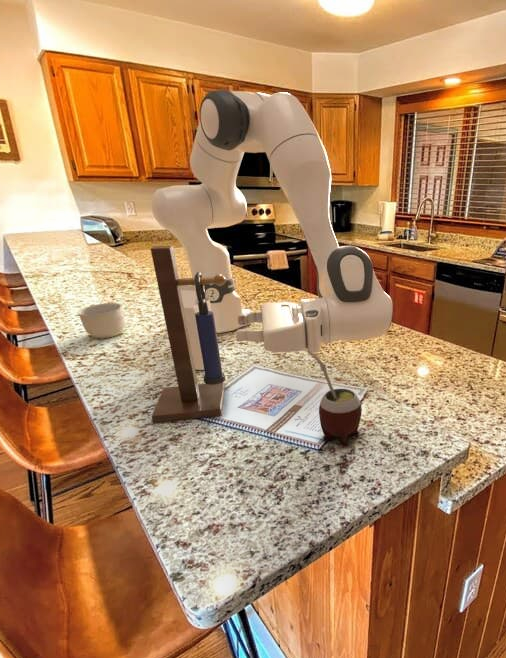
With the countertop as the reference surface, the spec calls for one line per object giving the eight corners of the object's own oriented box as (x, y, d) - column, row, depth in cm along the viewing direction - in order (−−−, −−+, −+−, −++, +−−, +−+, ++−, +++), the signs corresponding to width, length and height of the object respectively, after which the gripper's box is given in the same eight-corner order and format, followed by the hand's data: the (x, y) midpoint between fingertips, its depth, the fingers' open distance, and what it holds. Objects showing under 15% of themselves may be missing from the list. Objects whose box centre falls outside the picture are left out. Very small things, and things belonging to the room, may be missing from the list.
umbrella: (205, 374, 85) (187, 270, 77) (226, 372, 86) (211, 269, 77) (202, 388, 80) (183, 277, 71) (224, 386, 80) (207, 276, 72)
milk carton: (204, 371, 98) (190, 289, 91) (176, 368, 100) (160, 288, 92) (219, 359, 105) (207, 282, 97) (193, 357, 106) (179, 281, 98)
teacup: (130, 336, 121) (124, 308, 118) (87, 344, 115) (78, 315, 112) (123, 324, 131) (117, 298, 128) (83, 330, 126) (75, 304, 122)
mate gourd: (366, 444, 71) (367, 361, 64) (320, 452, 69) (316, 367, 62) (354, 422, 77) (353, 344, 71) (311, 428, 75) (306, 349, 69)
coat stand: (165, 394, 88) (132, 243, 75) (242, 386, 91) (222, 240, 79) (153, 423, 77) (112, 254, 65) (240, 413, 80) (218, 249, 68)
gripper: (304, 292, 90) (236, 297, 87) (317, 321, 72) (233, 327, 69) (305, 321, 93) (240, 326, 90) (319, 355, 75) (237, 363, 72)
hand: (237, 327), depth 80 cm, fingers open, 8 cm apart
